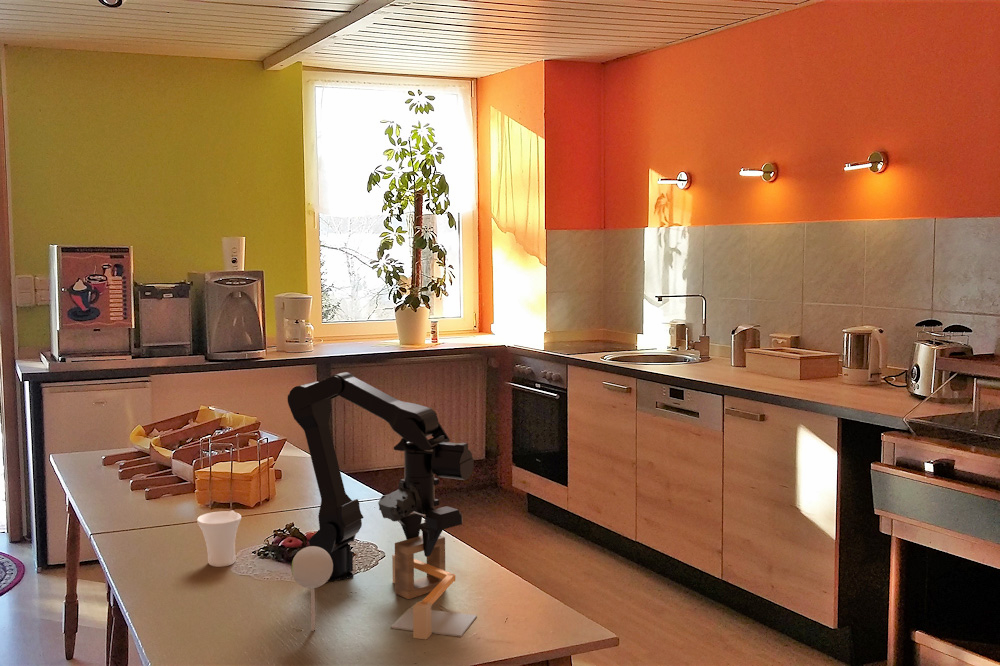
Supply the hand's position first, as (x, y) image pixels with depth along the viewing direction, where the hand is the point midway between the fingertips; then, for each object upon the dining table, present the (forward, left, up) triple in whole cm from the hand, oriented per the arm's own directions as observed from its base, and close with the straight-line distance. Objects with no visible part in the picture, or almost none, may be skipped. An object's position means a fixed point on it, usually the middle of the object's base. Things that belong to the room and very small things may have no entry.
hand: (420, 553), depth 191 cm
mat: (-4, -15, -8) cm, 17 cm away
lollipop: (-24, -8, -8) cm, 26 cm away
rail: (-3, -7, -8) cm, 11 cm away
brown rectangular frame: (0, 0, -7) cm, 7 cm away
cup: (-30, +35, -8) cm, 47 cm away
